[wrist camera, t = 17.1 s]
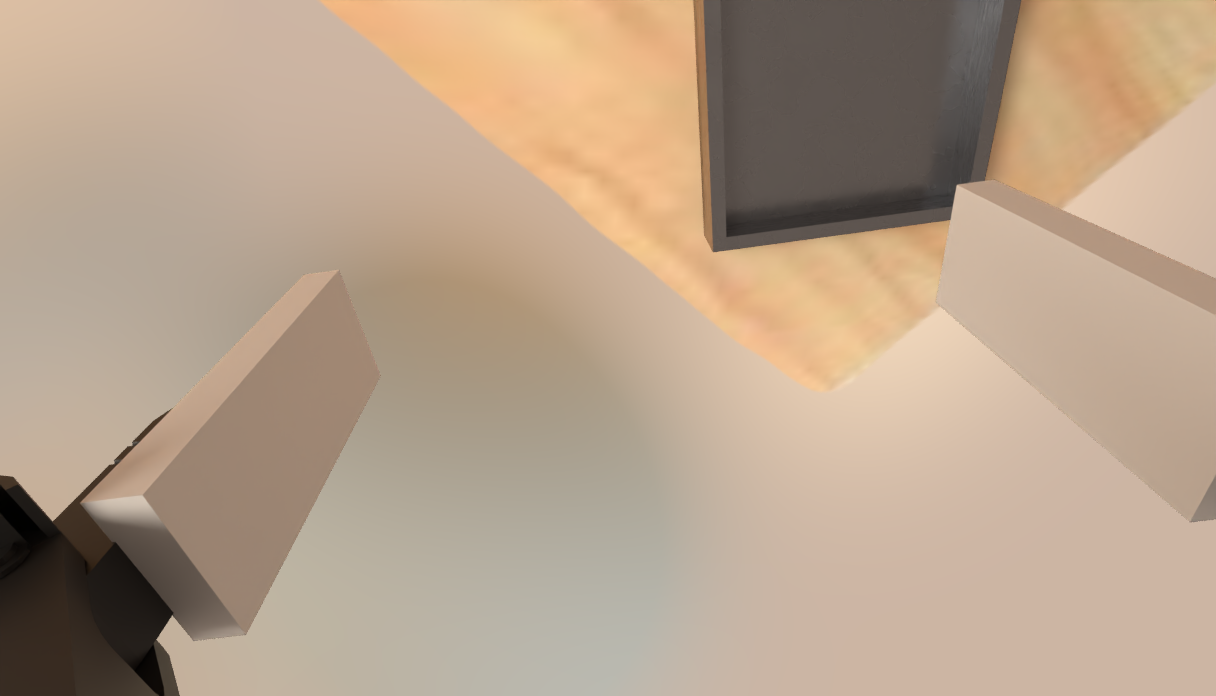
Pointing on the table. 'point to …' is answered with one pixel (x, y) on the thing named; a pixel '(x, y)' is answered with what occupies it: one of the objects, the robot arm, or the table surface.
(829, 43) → the grey square tray
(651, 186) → the table surface
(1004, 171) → the table surface
